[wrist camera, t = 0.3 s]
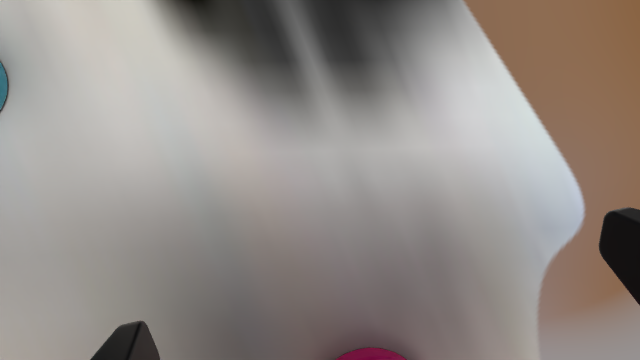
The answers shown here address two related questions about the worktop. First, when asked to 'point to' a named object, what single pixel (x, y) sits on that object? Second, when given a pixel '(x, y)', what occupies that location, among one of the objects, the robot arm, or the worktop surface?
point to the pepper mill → (371, 355)
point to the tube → (2, 86)
